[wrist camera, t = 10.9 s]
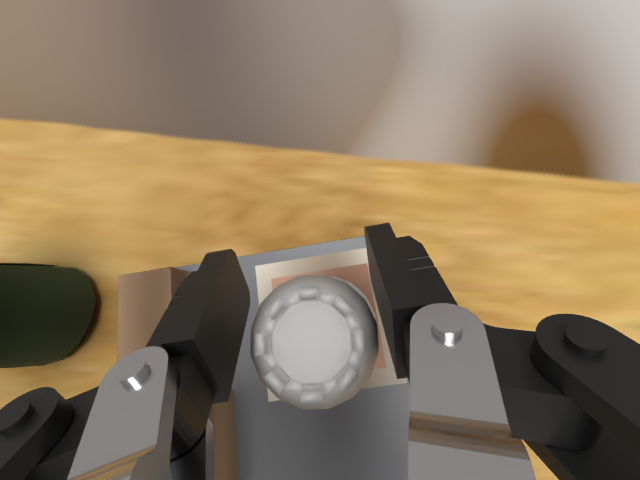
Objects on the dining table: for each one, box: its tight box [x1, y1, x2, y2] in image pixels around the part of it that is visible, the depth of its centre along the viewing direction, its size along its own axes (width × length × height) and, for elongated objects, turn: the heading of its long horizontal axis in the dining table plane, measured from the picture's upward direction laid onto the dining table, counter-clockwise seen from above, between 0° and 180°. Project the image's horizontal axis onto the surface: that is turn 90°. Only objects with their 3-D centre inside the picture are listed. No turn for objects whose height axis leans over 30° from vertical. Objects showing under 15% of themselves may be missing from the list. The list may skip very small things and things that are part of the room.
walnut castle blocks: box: [117, 267, 240, 480], centre depth 15 cm, size 5×12×6 cm, turn 9°
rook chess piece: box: [250, 274, 379, 409], centre depth 11 cm, size 4×4×8 cm
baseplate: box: [176, 236, 410, 480], centre depth 18 cm, size 16×13×1 cm
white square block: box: [255, 248, 407, 402], centre depth 16 cm, size 6×6×3 cm
